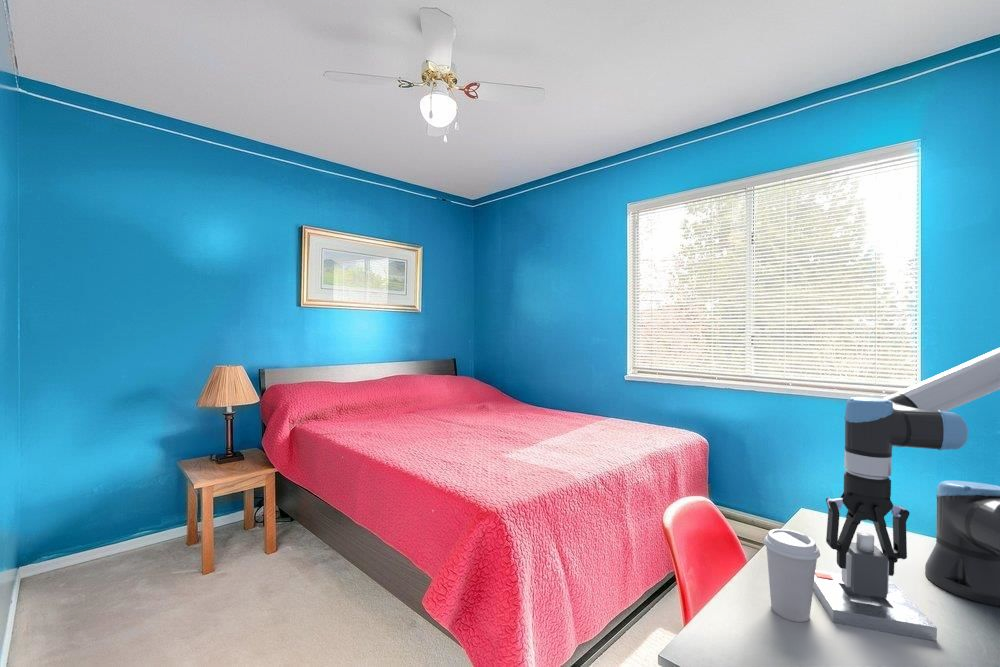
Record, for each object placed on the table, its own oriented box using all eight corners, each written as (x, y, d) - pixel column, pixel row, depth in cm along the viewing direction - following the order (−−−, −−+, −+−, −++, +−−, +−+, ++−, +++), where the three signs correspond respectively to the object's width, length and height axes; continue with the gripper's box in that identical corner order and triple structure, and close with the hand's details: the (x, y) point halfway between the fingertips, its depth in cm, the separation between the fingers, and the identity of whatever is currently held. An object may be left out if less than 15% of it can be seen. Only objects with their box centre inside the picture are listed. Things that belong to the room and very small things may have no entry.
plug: (874, 583, 95) (875, 531, 95) (886, 598, 90) (888, 542, 89) (842, 578, 97) (844, 527, 96) (853, 592, 91) (854, 538, 91)
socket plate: (892, 593, 98) (893, 581, 98) (936, 641, 83) (936, 626, 83) (806, 579, 103) (806, 567, 103) (833, 622, 88) (833, 608, 88)
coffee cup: (828, 630, 86) (830, 551, 85) (773, 623, 87) (774, 545, 87) (805, 601, 95) (806, 529, 95) (755, 595, 97) (756, 525, 97)
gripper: (913, 473, 93) (910, 585, 94) (808, 463, 99) (805, 569, 99) (934, 485, 86) (931, 606, 86) (820, 473, 92) (817, 587, 92)
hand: (864, 586), depth 93 cm, fingers closed on plug, 5 cm apart
